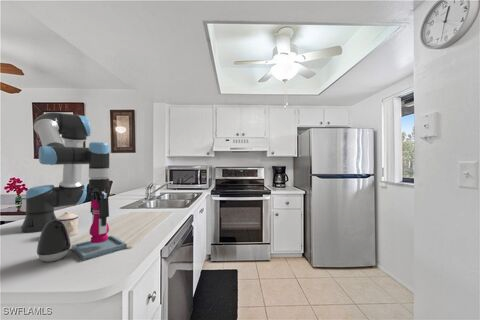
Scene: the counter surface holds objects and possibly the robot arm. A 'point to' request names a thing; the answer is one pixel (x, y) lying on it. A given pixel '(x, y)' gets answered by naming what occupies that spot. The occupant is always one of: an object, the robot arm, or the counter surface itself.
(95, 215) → the pepper mill
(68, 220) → the teacup with lid
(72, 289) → the counter surface
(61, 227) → the black rounded piece
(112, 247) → the tray
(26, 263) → the counter surface
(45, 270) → the counter surface
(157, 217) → the counter surface
